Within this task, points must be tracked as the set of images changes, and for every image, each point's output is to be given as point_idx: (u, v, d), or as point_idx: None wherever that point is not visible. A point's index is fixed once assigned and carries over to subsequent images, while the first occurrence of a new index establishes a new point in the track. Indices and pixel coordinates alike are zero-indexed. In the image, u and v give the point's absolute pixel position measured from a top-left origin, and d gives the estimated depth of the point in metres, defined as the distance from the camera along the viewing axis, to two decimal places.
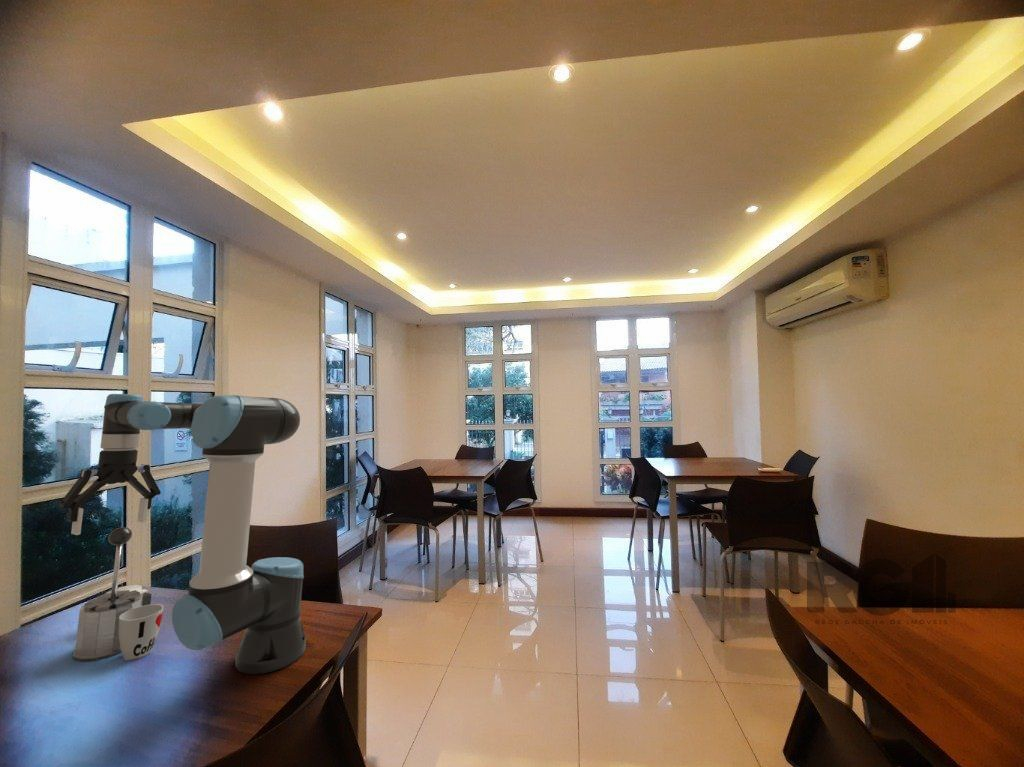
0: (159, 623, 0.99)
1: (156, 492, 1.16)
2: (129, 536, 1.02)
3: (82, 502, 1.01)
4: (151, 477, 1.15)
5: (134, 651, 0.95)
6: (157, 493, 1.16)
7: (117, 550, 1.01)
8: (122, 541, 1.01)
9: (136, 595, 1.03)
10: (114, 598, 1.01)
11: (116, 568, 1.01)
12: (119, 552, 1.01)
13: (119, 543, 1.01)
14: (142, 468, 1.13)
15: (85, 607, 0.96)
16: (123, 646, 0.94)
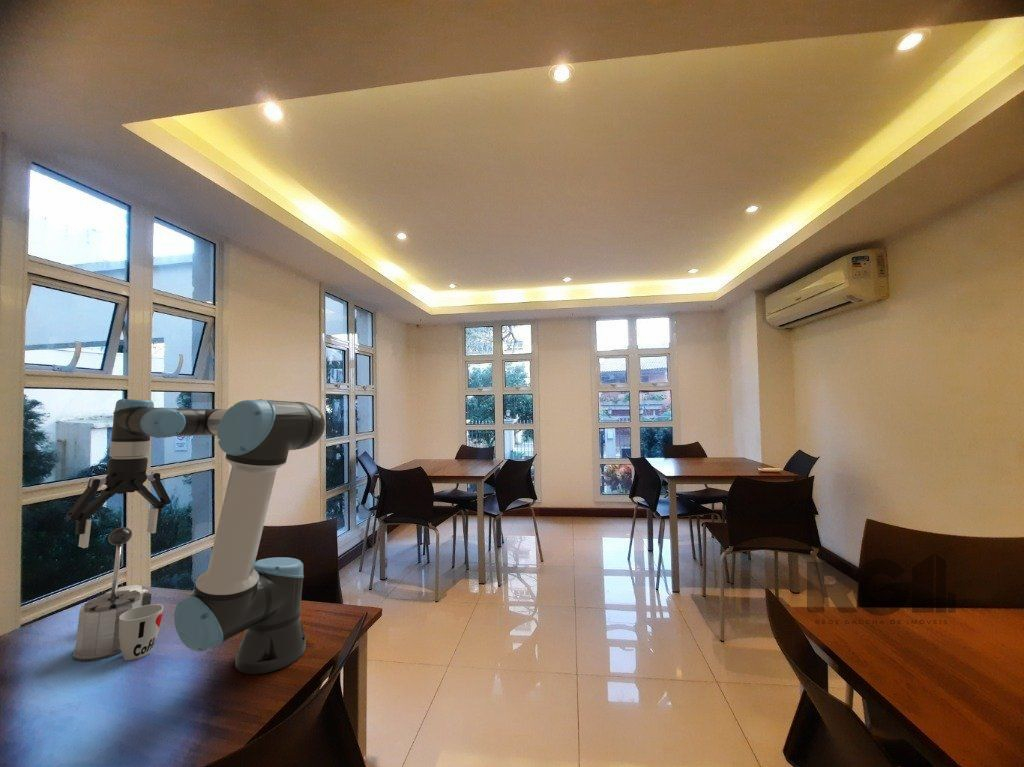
0: (159, 623, 0.99)
1: (166, 501, 1.11)
2: (129, 536, 1.02)
3: (90, 513, 0.96)
4: (161, 486, 1.10)
5: (134, 651, 0.95)
6: (167, 502, 1.11)
7: (117, 550, 1.01)
8: (122, 541, 1.01)
9: (136, 595, 1.03)
10: (114, 598, 1.01)
11: (116, 568, 1.01)
12: (119, 552, 1.01)
13: (119, 543, 1.01)
14: (152, 476, 1.08)
15: (85, 607, 0.96)
16: (123, 646, 0.94)
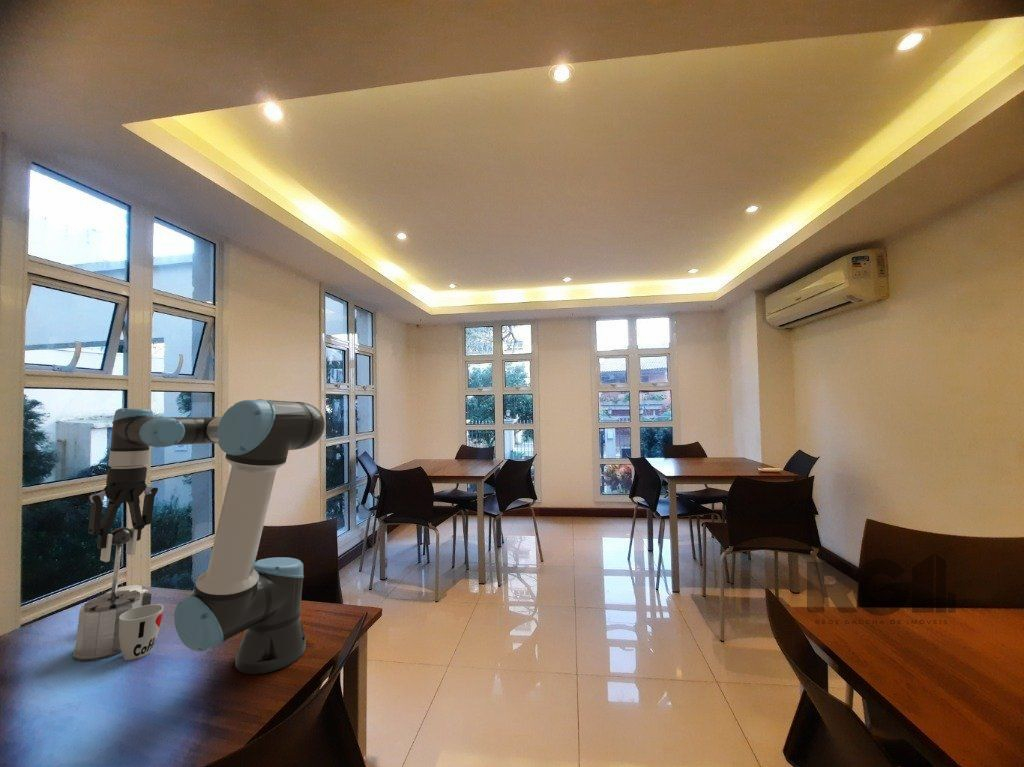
0: (159, 623, 0.99)
1: (147, 521, 1.06)
2: (129, 536, 1.02)
3: (109, 527, 0.99)
4: (152, 502, 1.07)
5: (134, 651, 0.95)
6: (147, 522, 1.06)
7: (117, 550, 1.01)
8: (122, 541, 1.01)
9: (136, 595, 1.03)
10: (114, 598, 1.01)
11: (116, 568, 1.01)
12: (119, 552, 1.01)
13: (119, 543, 1.01)
14: (150, 490, 1.08)
15: (85, 607, 0.96)
16: (123, 646, 0.94)
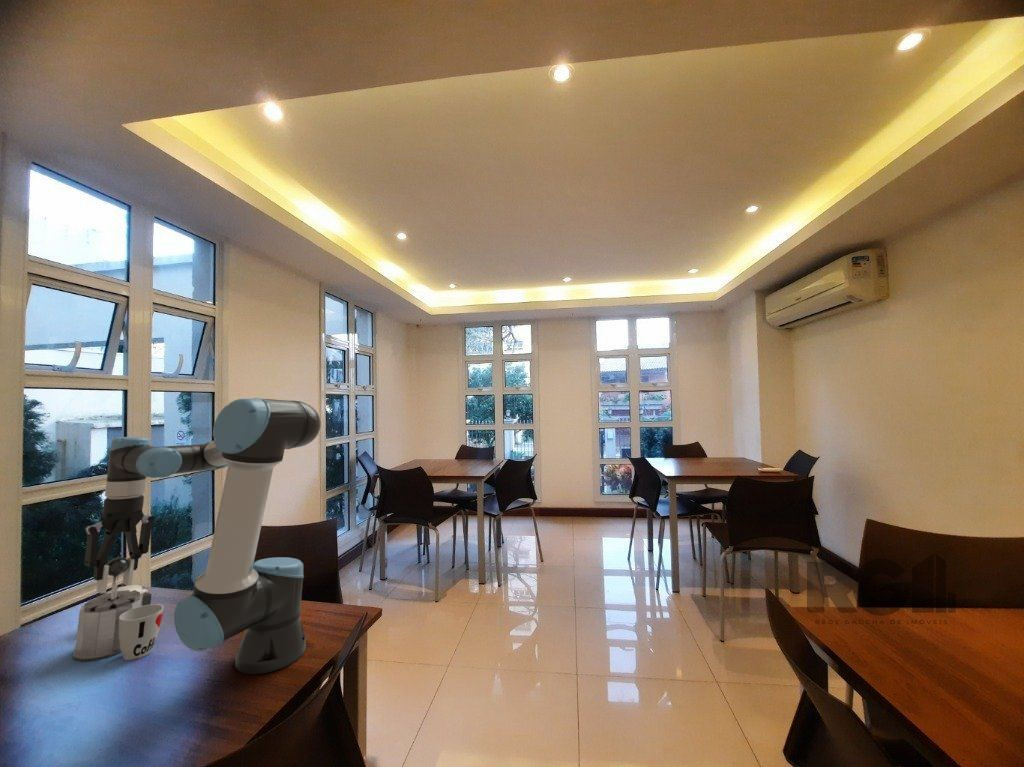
0: (159, 623, 0.99)
1: (144, 550, 1.06)
2: (126, 566, 1.02)
3: (105, 558, 0.98)
4: (149, 531, 1.07)
5: (134, 651, 0.95)
6: (144, 551, 1.06)
7: (114, 581, 1.01)
8: (119, 572, 1.00)
9: (136, 595, 1.03)
10: None
11: (113, 599, 1.00)
12: (115, 582, 1.01)
13: (116, 574, 1.00)
14: (147, 518, 1.07)
15: (85, 607, 0.96)
16: (123, 646, 0.94)
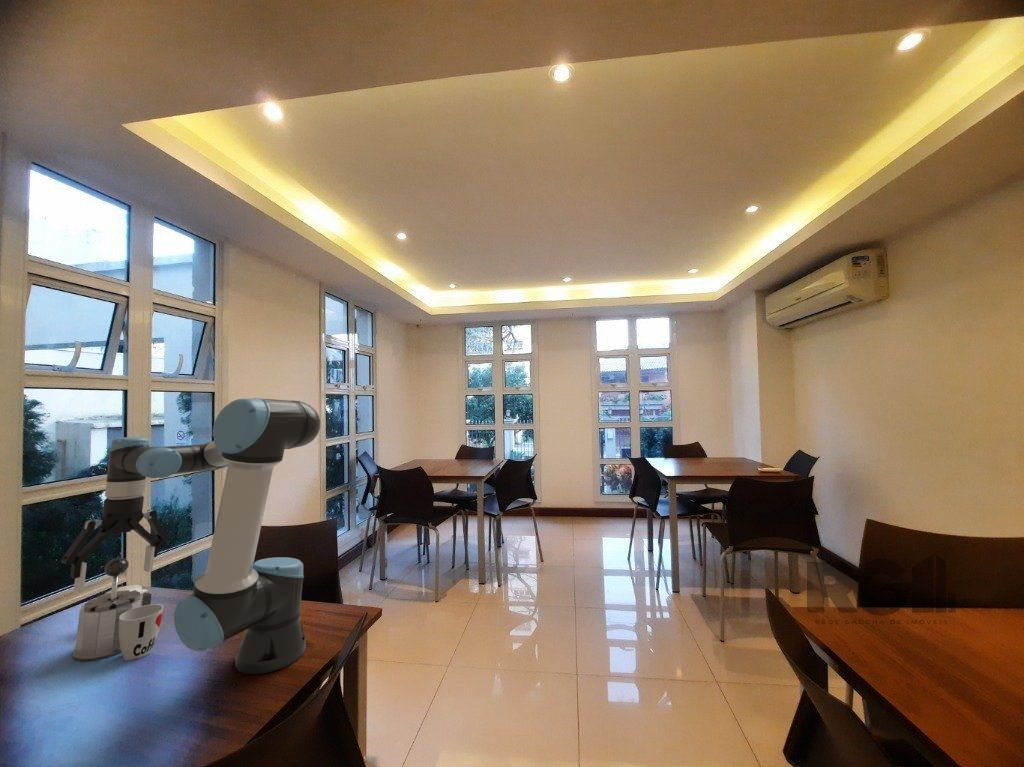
0: (159, 623, 0.99)
1: (163, 539, 1.10)
2: (126, 567, 1.02)
3: (85, 556, 0.95)
4: (158, 523, 1.09)
5: (134, 651, 0.95)
6: (164, 540, 1.10)
7: (114, 581, 1.01)
8: (119, 572, 1.00)
9: (136, 595, 1.03)
10: None
11: (112, 599, 1.00)
12: (115, 583, 1.01)
13: (115, 574, 1.00)
14: (148, 514, 1.07)
15: (85, 607, 0.96)
16: (123, 646, 0.94)
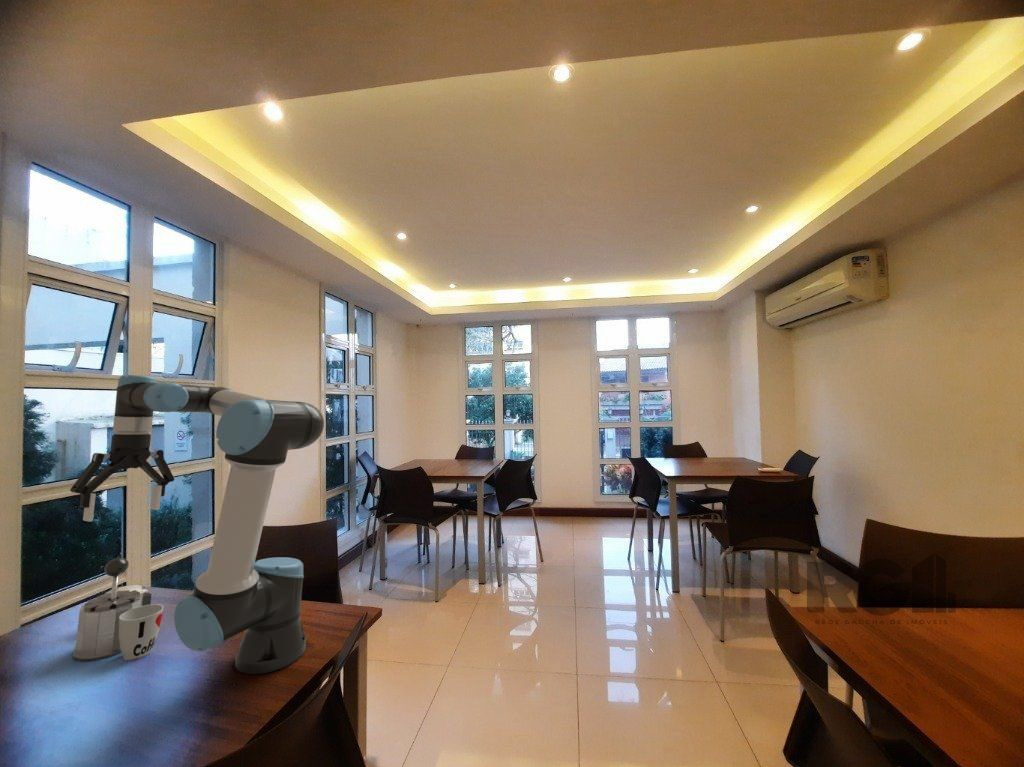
0: (159, 623, 0.99)
1: (170, 479, 1.11)
2: (126, 567, 1.02)
3: (94, 487, 0.96)
4: (165, 463, 1.10)
5: (134, 651, 0.95)
6: (171, 480, 1.11)
7: (114, 581, 1.01)
8: (119, 572, 1.00)
9: (136, 595, 1.03)
10: None
11: (112, 599, 1.00)
12: (115, 583, 1.01)
13: (115, 574, 1.00)
14: (155, 453, 1.09)
15: (85, 607, 0.96)
16: (123, 646, 0.94)
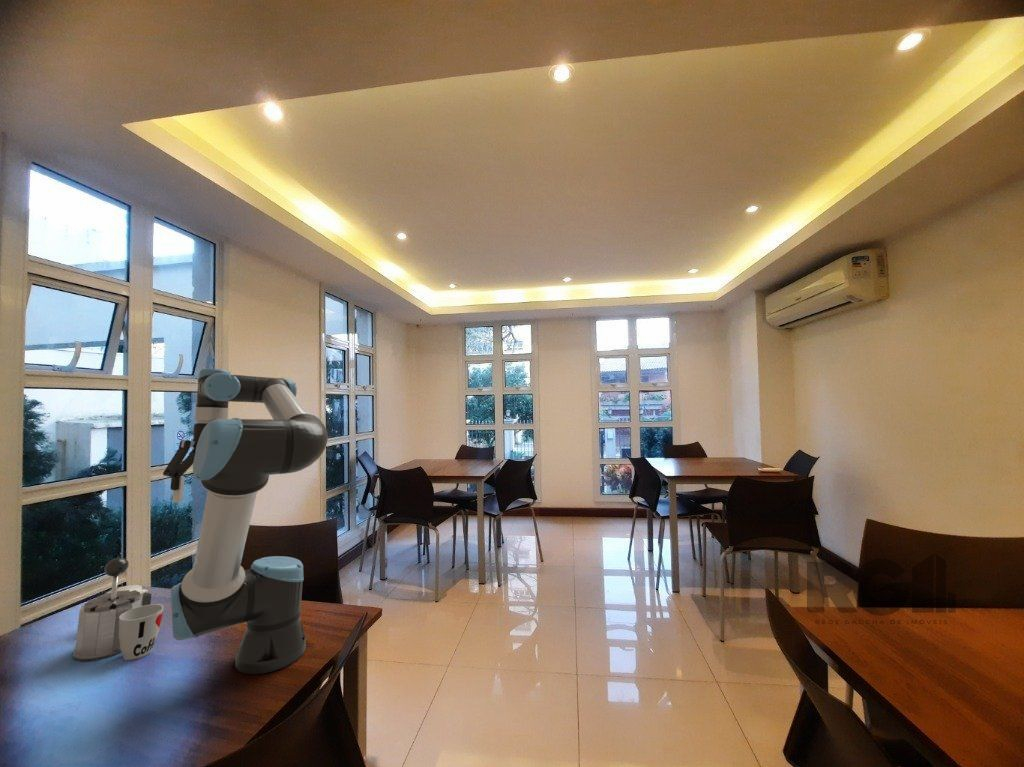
0: (159, 623, 0.99)
1: None
2: (126, 567, 1.02)
3: (183, 471, 1.05)
4: None
5: (134, 651, 0.95)
6: None
7: (114, 581, 1.01)
8: (119, 572, 1.00)
9: (136, 595, 1.03)
10: None
11: (112, 599, 1.00)
12: (115, 583, 1.01)
13: (115, 574, 1.00)
14: None
15: (85, 607, 0.96)
16: (123, 646, 0.94)
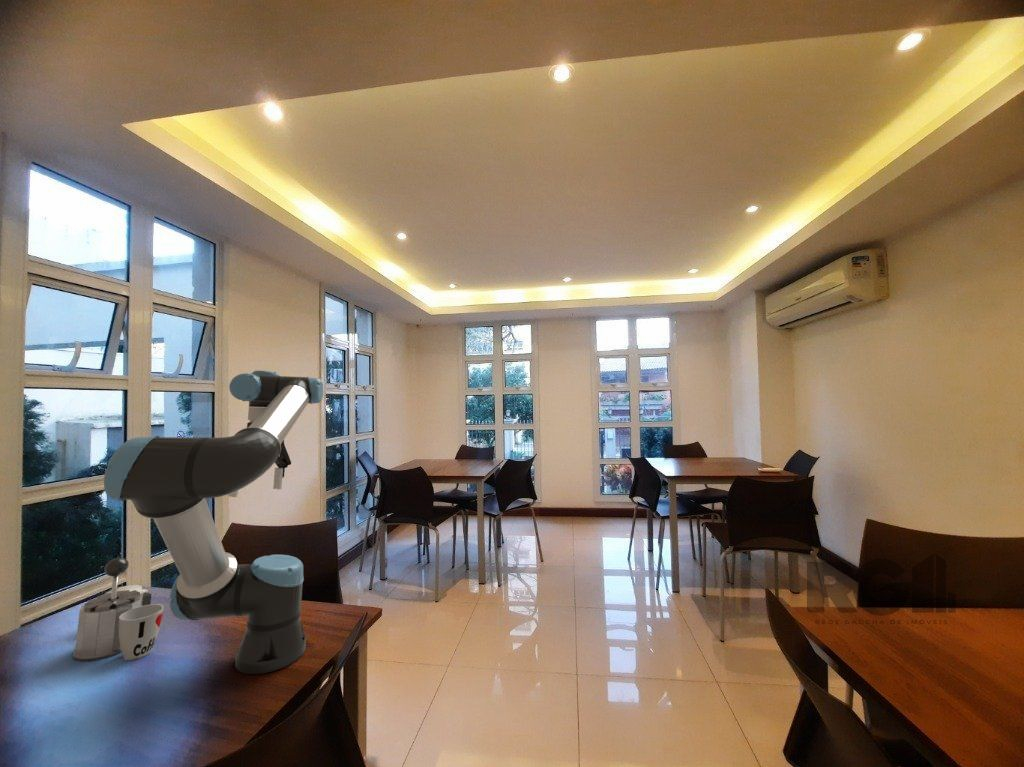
0: (159, 623, 0.99)
1: (288, 462, 1.26)
2: (126, 567, 1.02)
3: None
4: (285, 448, 1.25)
5: (134, 651, 0.95)
6: (289, 463, 1.26)
7: (114, 581, 1.01)
8: (119, 572, 1.00)
9: (136, 595, 1.03)
10: None
11: (112, 599, 1.00)
12: (115, 583, 1.01)
13: (115, 574, 1.00)
14: None
15: (85, 607, 0.96)
16: (123, 646, 0.94)
